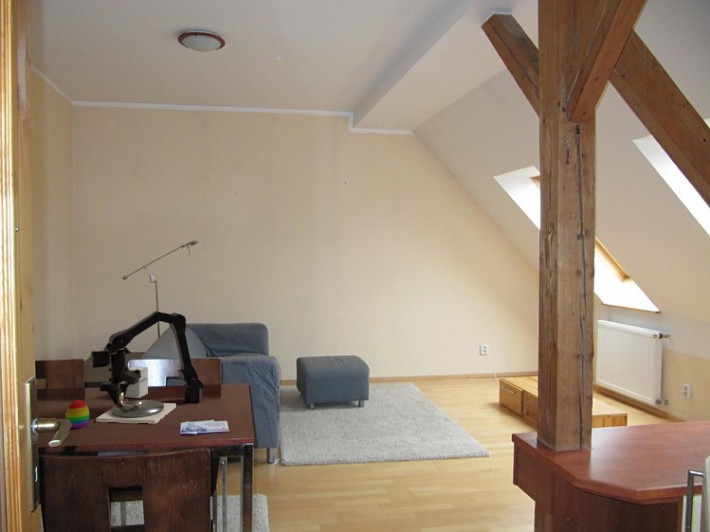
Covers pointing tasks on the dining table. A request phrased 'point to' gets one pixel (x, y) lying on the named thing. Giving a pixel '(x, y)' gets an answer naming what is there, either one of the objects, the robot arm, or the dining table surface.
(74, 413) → the decorative egg
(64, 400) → the dining table surface
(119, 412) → the handwheel
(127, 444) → the dining table surface
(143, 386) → the supplement box
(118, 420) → the base plate
